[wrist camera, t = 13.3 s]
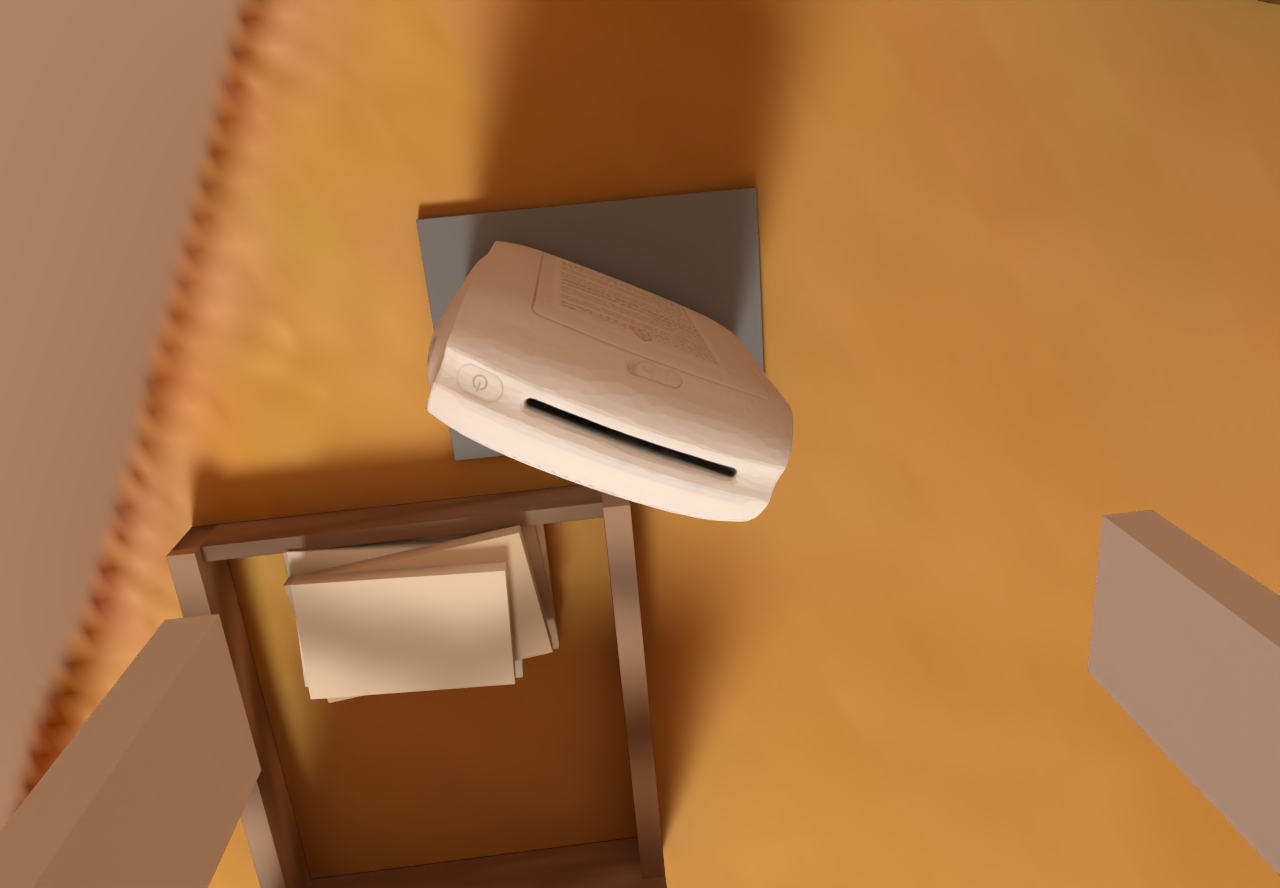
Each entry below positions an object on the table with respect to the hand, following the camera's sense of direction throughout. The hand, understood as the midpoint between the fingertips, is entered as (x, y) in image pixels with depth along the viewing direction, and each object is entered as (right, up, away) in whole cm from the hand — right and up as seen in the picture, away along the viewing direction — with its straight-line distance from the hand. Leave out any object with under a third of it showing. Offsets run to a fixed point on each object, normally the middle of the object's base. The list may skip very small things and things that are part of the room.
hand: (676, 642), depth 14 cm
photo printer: (-2, +7, +21) cm, 22 cm away
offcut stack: (-9, -3, +24) cm, 26 cm away
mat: (-2, +7, +21) cm, 22 cm away
